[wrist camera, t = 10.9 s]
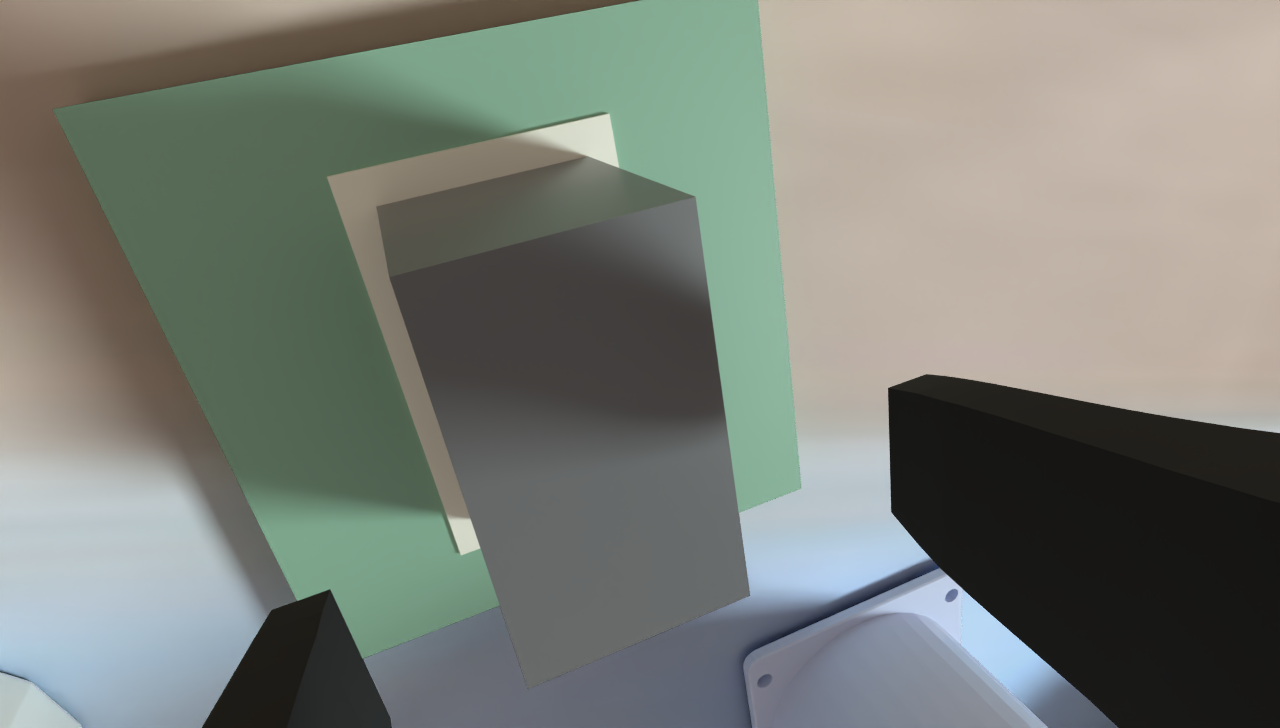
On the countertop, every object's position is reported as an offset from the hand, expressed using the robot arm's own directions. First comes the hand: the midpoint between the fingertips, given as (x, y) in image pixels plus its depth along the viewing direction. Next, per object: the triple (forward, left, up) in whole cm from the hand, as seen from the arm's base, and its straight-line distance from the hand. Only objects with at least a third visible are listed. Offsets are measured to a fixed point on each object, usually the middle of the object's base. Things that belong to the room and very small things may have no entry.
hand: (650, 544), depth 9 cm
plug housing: (0, 0, -7) cm, 7 cm away
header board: (0, 0, -8) cm, 8 cm away
